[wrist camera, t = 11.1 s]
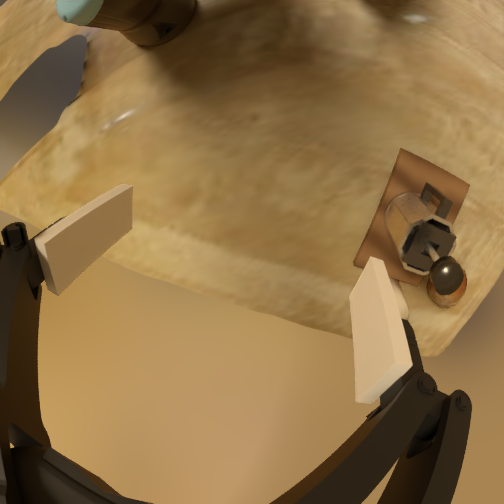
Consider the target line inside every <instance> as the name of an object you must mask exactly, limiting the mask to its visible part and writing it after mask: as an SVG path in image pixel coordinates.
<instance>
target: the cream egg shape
mask: <svg viewBox="0 0 504 504" xmlns="http://www.w3.org/2000/svg"><path fill="white" fill-rule="evenodd" d="M389 279H390V282H391V285H392V289H393V292H394V295H395V298H396V302H397V305H398V308H399V312H400V315H401V318H402V319H405V320H407V319H408V316H409V310H408V307H407V304H406V301H405V298H404V295H403V292H402V289H401V286H400V284H399V281H398V280H397V279H394V278H391V277H389Z"/></svg>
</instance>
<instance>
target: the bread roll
mask: <svg viewBox="0 0 504 504" xmlns="http://www.w3.org/2000/svg"><path fill="white" fill-rule="evenodd" d="M458 265H459V264H458ZM459 266H460V265H459ZM460 268H461V269H462V267H461V266H460ZM462 271H463V273H464V279H463V282H462V284H461V286H460V287H459V288H458V289H457V290H456V291H455V292H454V293H452V294H450V295H440V294H438V293H437V292H436V290H435V288H434V286H433V284H432V282H431V280H430V279H429V282H428V285H427V290H428V295H429V296H430V297H431V298H432V300H433V301H434V302H435V303H436V304H438V305H439V306H440V307H442V308H449V307H451V306H455V305H456V304H457V302H458V301H459V300H460V299H461V298H462V296H463V295H464V293H465V290H466V286H467V278H466V274H465V271H464V270H463V269H462Z"/></svg>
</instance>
